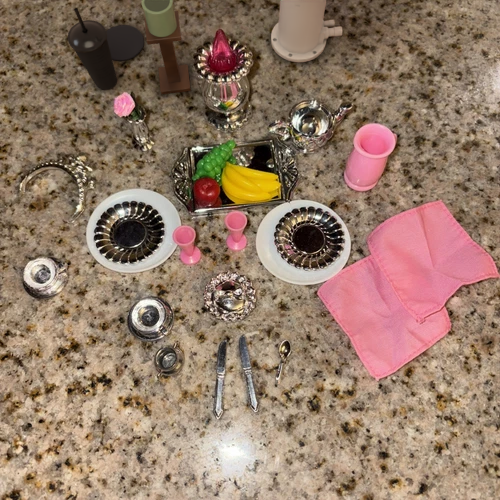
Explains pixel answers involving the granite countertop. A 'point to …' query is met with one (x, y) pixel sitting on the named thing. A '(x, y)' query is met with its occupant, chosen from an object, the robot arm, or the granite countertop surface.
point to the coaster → (124, 42)
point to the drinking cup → (93, 51)
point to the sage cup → (160, 17)
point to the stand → (170, 62)
